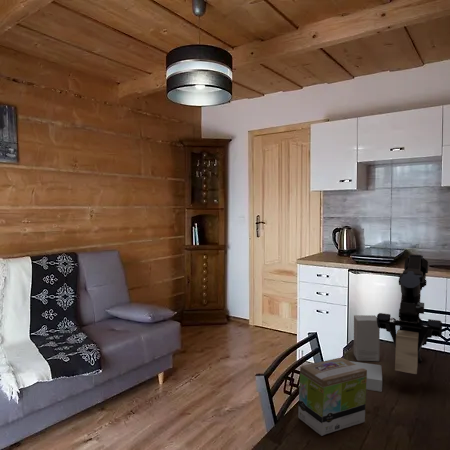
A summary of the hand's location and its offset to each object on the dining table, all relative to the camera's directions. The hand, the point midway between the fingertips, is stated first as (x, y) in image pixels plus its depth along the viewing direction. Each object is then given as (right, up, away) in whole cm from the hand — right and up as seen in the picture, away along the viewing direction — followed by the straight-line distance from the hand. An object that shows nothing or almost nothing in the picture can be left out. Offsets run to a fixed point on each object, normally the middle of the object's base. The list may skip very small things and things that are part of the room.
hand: (406, 349), depth 123 cm
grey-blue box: (-11, -13, +8) cm, 19 cm away
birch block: (+1, -7, +2) cm, 7 cm away
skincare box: (-3, -12, +27) cm, 30 cm away
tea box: (-27, -15, -15) cm, 34 cm away
